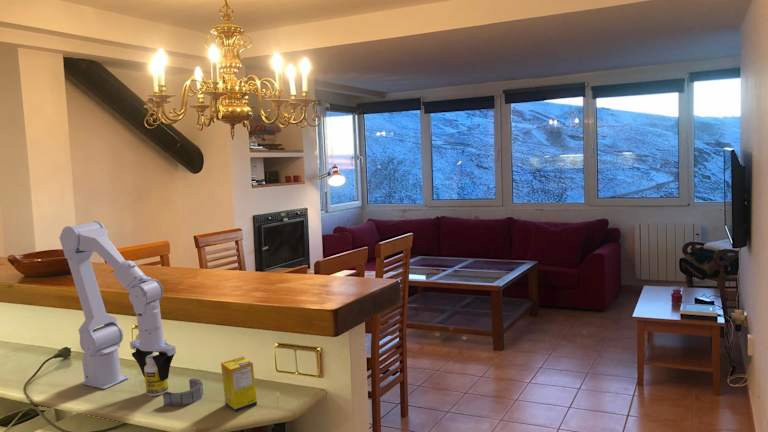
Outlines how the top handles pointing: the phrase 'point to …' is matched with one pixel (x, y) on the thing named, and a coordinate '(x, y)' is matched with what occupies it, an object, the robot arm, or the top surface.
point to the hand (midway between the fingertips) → (156, 377)
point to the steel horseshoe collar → (185, 395)
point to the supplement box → (239, 383)
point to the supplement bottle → (154, 378)
